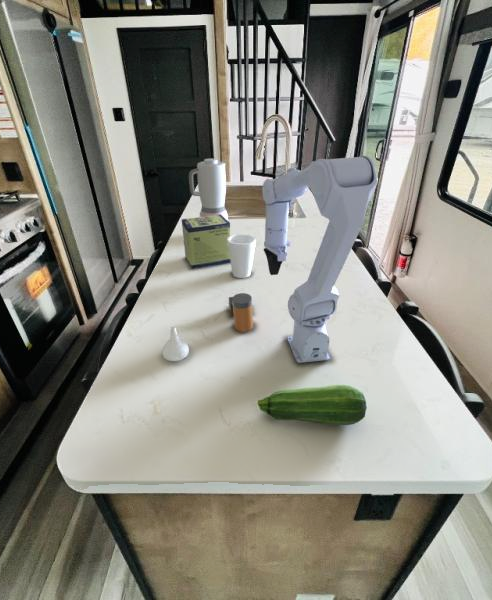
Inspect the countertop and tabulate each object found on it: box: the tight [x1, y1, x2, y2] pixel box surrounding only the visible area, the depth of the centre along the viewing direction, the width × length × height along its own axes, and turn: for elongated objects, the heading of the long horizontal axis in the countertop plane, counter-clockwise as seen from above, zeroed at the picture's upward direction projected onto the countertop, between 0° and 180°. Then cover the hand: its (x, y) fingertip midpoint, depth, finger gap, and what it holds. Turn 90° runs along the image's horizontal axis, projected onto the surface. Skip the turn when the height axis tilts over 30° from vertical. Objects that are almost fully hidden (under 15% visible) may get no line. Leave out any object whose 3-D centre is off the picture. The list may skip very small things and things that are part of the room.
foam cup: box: [227, 233, 257, 279], centre depth 109 cm, size 10×9×13 cm
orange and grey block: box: [232, 292, 254, 333], centre depth 84 cm, size 9×5×10 cm
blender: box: [188, 158, 229, 221], centre depth 133 cm, size 16×12×32 cm
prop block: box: [228, 296, 234, 317], centre depth 91 cm, size 4×6×4 cm, turn 98°
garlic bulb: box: [161, 325, 190, 362], centre depth 75 cm, size 6×6×8 cm
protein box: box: [181, 214, 231, 270], centre depth 118 cm, size 10×16×16 cm
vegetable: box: [257, 384, 368, 426], centre depth 60 cm, size 7×7×20 cm
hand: (273, 273), depth 90 cm, fingers closed
